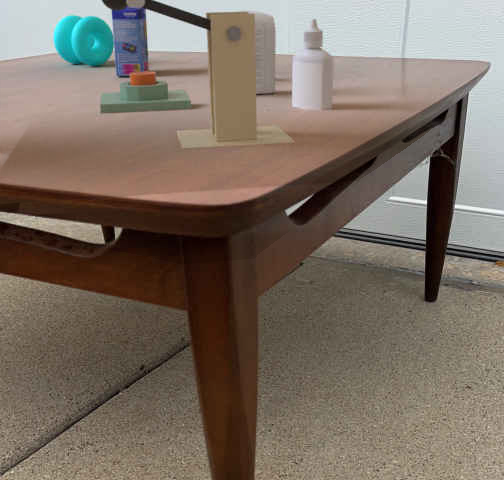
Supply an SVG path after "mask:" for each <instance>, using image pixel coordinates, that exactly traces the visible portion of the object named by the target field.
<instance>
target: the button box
mask: <svg viewBox="0 0 504 480" xmlns="http://www.w3.org/2000/svg"><path fill="white" fill-rule="evenodd" d="M156 81H157V84H153V85H130V80H128V81H124V82H120V83H119V91H118V92H102V93H101V97H100V101H99V107H100V108H99V111H100V114H114V113H134V112H135V113H137V112H154V111H155V112H156V111H176V110H191V109H192V99H190V97H189V94H188V93H187V91H186V89H185V88H184V89H169V86H168V82H167V80H161V79H156Z"/></svg>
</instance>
